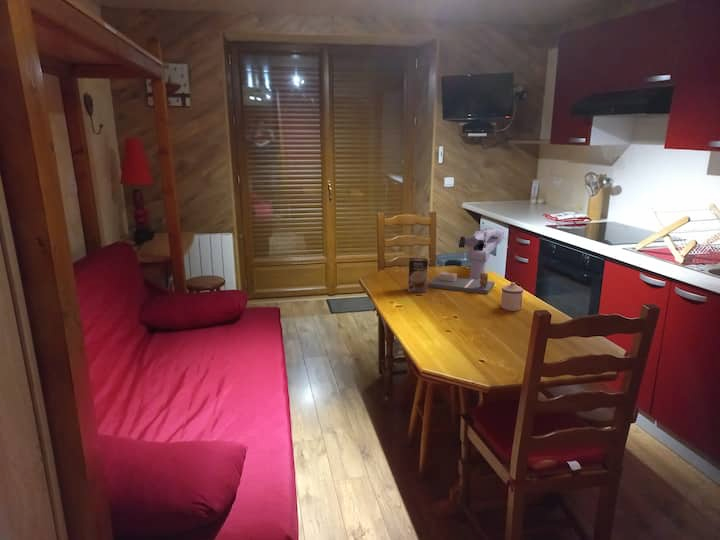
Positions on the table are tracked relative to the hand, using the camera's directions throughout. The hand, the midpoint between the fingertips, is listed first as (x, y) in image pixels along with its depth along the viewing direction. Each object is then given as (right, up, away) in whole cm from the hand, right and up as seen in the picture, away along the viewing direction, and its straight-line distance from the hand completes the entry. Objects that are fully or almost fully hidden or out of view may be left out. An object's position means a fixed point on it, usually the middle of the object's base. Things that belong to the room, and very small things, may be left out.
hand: (467, 247), depth 243 cm
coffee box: (-24, -22, +2) cm, 33 cm away
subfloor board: (-1, -20, +8) cm, 21 cm away
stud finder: (-7, -16, +14) cm, 22 cm away
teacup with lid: (+14, -28, -23) cm, 39 cm away
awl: (+8, -20, -1) cm, 21 cm away
